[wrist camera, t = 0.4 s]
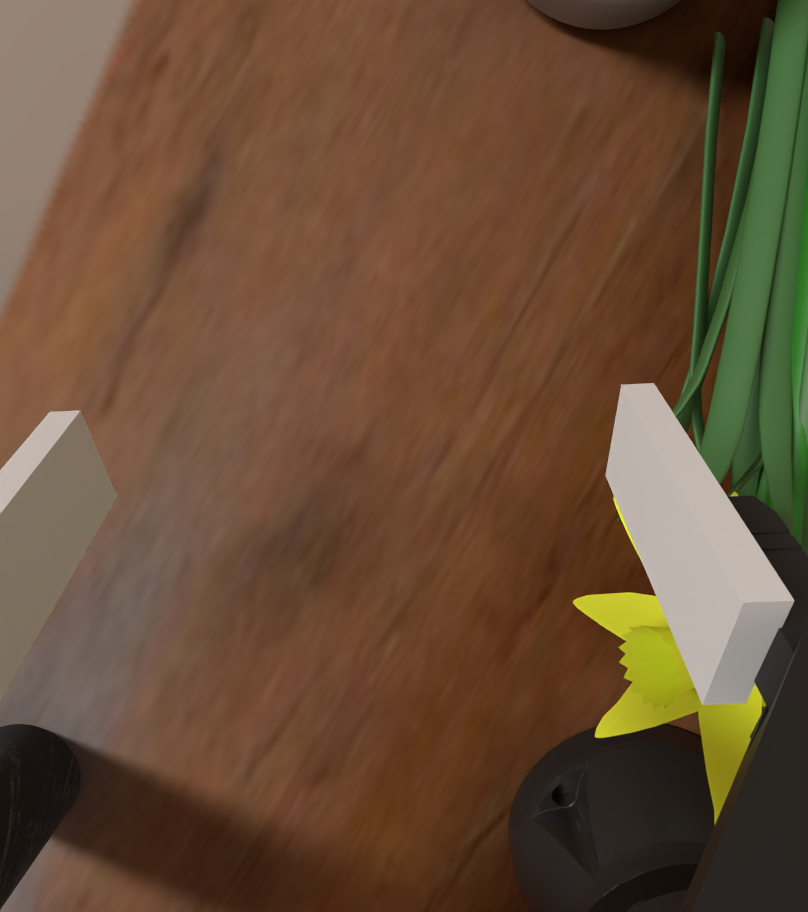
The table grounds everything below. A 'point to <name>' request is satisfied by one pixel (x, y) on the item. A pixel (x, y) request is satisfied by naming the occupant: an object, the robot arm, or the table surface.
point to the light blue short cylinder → (603, 11)
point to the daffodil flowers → (737, 378)
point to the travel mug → (31, 797)
